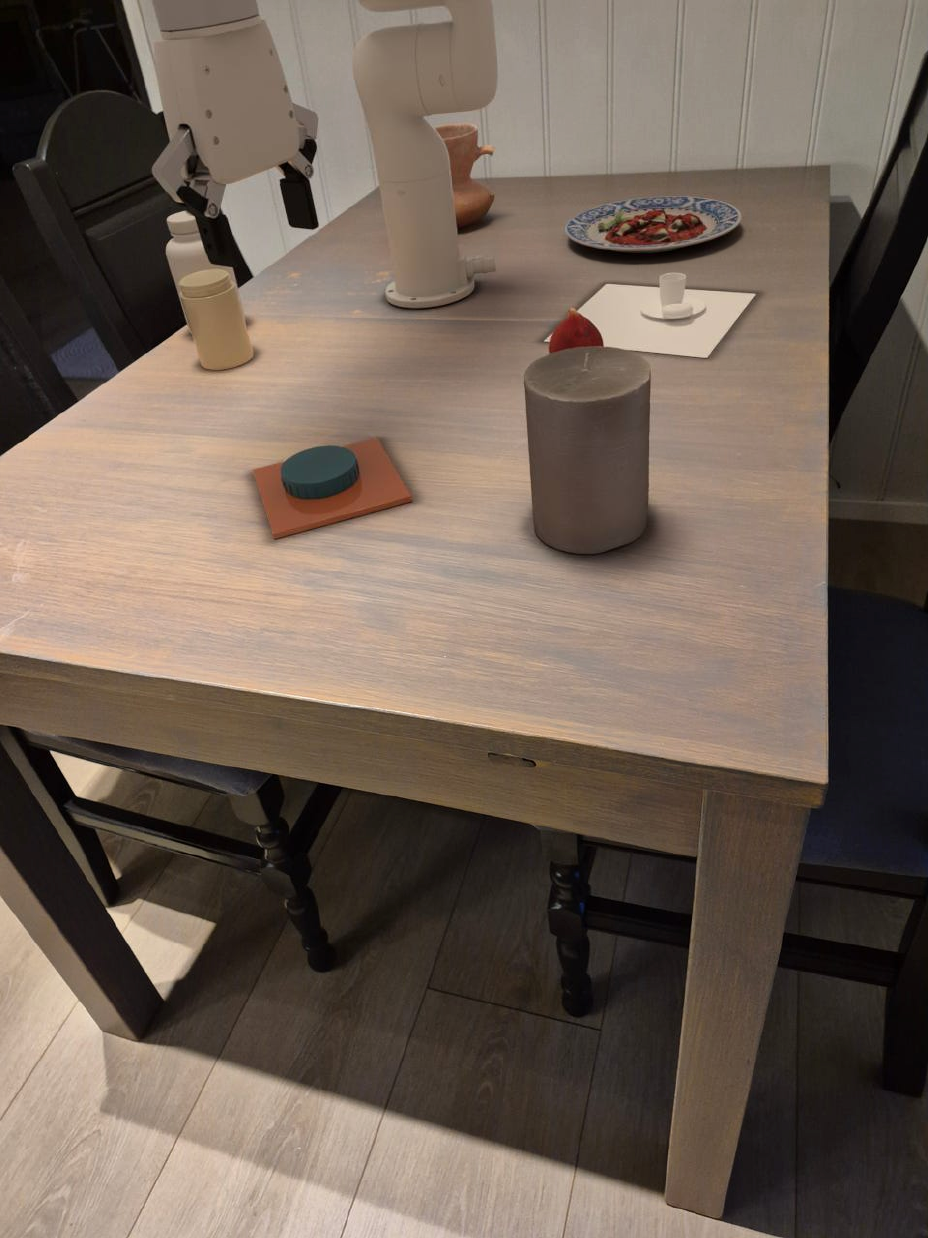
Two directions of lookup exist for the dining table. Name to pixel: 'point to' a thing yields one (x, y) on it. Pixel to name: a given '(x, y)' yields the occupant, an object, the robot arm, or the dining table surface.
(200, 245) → the pill bottle
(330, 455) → the lid
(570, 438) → the pillar candle
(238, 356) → the jar
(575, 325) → the onion
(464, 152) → the ceramic jug
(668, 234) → the ceramic plate
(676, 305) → the teacup and saucer
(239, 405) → the dining table surface
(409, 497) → the tile
